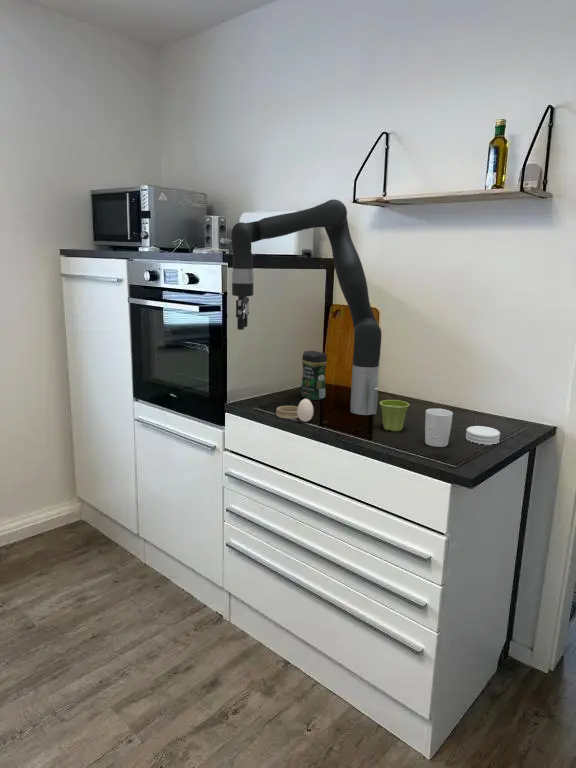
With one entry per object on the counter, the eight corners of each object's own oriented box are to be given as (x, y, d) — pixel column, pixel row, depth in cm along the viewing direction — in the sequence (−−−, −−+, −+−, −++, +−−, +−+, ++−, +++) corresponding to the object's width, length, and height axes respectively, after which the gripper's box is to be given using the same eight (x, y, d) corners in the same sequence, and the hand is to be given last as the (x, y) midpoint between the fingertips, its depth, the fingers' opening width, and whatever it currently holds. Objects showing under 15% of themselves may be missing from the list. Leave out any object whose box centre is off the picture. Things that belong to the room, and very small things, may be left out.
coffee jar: (297, 396, 224) (298, 350, 220) (311, 393, 229) (313, 348, 225) (314, 401, 217) (315, 354, 213) (328, 398, 222) (330, 352, 218)
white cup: (418, 443, 171) (420, 411, 169) (432, 437, 177) (434, 407, 175) (441, 449, 166) (444, 417, 164) (454, 444, 171) (457, 412, 169)
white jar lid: (476, 434, 183) (477, 423, 182) (505, 441, 176) (506, 431, 175) (459, 439, 176) (460, 429, 176) (488, 448, 169) (489, 437, 168)
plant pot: (385, 434, 179) (387, 407, 177) (373, 425, 188) (375, 400, 186) (412, 432, 182) (414, 406, 180) (399, 424, 191) (401, 399, 189)
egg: (316, 421, 190) (317, 399, 189) (305, 424, 187) (306, 401, 185) (304, 418, 194) (305, 396, 192) (293, 421, 190) (294, 398, 188)
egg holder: (302, 412, 202) (302, 406, 201) (300, 419, 193) (301, 413, 192) (277, 411, 202) (278, 405, 202) (275, 417, 194) (275, 411, 193)
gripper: (250, 283, 190) (250, 331, 194) (256, 281, 204) (255, 326, 208) (228, 282, 191) (228, 330, 194) (235, 281, 205) (235, 325, 208)
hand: (242, 328), depth 201 cm, fingers open, 8 cm apart
